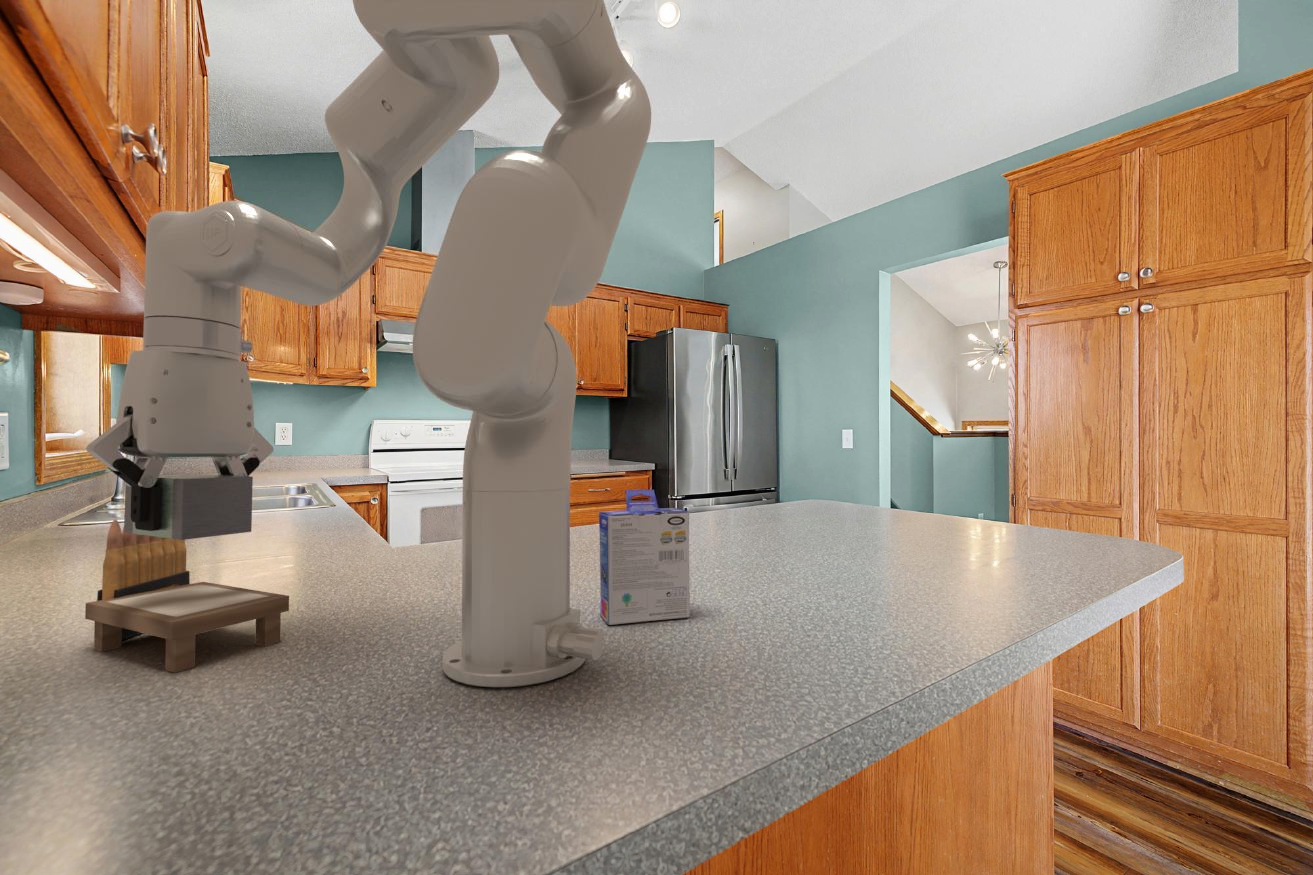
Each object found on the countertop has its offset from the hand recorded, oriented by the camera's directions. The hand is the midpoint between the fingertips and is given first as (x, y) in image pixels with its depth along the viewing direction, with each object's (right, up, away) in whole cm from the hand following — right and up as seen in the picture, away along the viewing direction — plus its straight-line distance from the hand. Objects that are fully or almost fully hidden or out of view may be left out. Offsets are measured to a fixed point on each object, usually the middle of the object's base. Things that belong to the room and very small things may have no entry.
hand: (188, 523), depth 58 cm
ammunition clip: (-9, -12, +5) cm, 16 cm away
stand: (0, -12, 0) cm, 12 cm away
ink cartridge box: (+45, -12, +10) cm, 47 cm away
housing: (0, -1, 0) cm, 1 cm away
